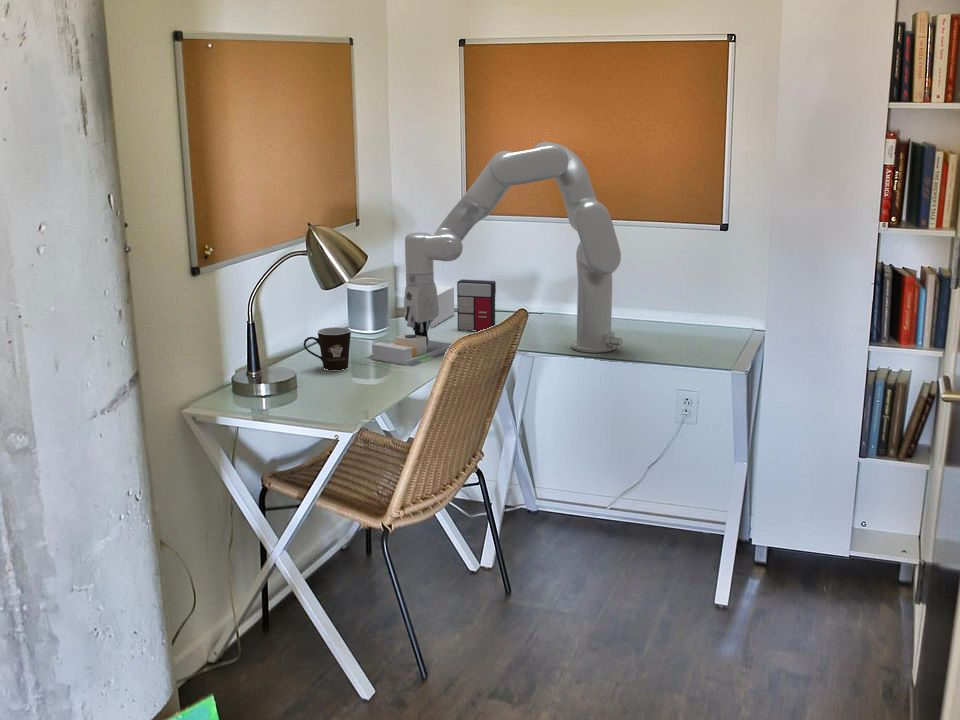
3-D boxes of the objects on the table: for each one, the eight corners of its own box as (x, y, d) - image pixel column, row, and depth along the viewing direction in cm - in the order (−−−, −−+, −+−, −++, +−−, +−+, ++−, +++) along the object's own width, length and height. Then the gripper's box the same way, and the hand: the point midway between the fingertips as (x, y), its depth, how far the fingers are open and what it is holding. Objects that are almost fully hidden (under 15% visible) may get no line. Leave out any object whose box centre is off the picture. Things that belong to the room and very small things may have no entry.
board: (421, 343, 307) (421, 325, 306) (467, 350, 299) (467, 332, 297) (365, 362, 287) (364, 343, 286) (412, 370, 279) (412, 351, 277)
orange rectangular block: (393, 354, 291) (393, 343, 290) (416, 358, 286) (416, 347, 285) (388, 355, 289) (388, 344, 288) (412, 359, 285) (412, 348, 284)
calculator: (456, 331, 322) (456, 281, 318) (461, 327, 326) (460, 279, 322) (491, 333, 319) (491, 283, 315) (495, 330, 323) (495, 280, 319)
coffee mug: (356, 364, 285) (355, 327, 282) (346, 373, 277) (344, 335, 274) (315, 362, 287) (313, 326, 285) (303, 371, 279) (301, 333, 277)
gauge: (406, 349, 294) (405, 332, 293) (426, 352, 290) (426, 335, 289) (394, 353, 290) (394, 336, 289) (415, 356, 286) (414, 339, 285)
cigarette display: (438, 314, 345) (437, 285, 343) (454, 315, 343) (453, 286, 341) (414, 327, 327) (413, 297, 324) (431, 329, 325) (430, 298, 323)
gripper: (413, 284, 281) (415, 352, 286) (447, 276, 293) (448, 341, 298) (391, 282, 285) (393, 349, 290) (425, 273, 297) (426, 338, 302)
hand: (421, 345), depth 294 cm, fingers closed
